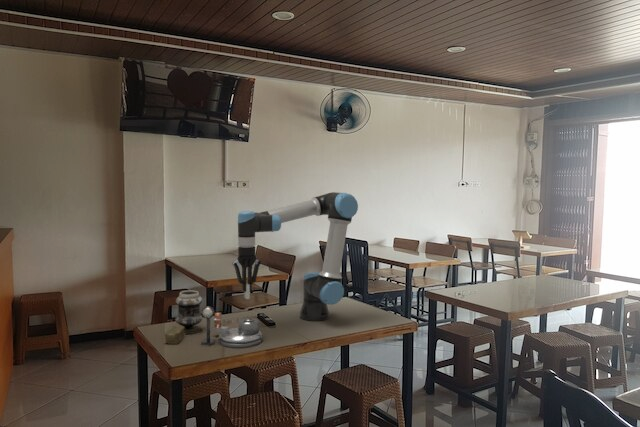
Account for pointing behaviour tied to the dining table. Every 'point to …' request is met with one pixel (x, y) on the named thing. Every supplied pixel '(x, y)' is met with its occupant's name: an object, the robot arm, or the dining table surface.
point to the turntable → (232, 333)
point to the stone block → (174, 335)
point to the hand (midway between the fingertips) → (247, 298)
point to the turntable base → (239, 345)
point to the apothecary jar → (189, 311)
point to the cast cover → (248, 326)
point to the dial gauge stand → (208, 325)
